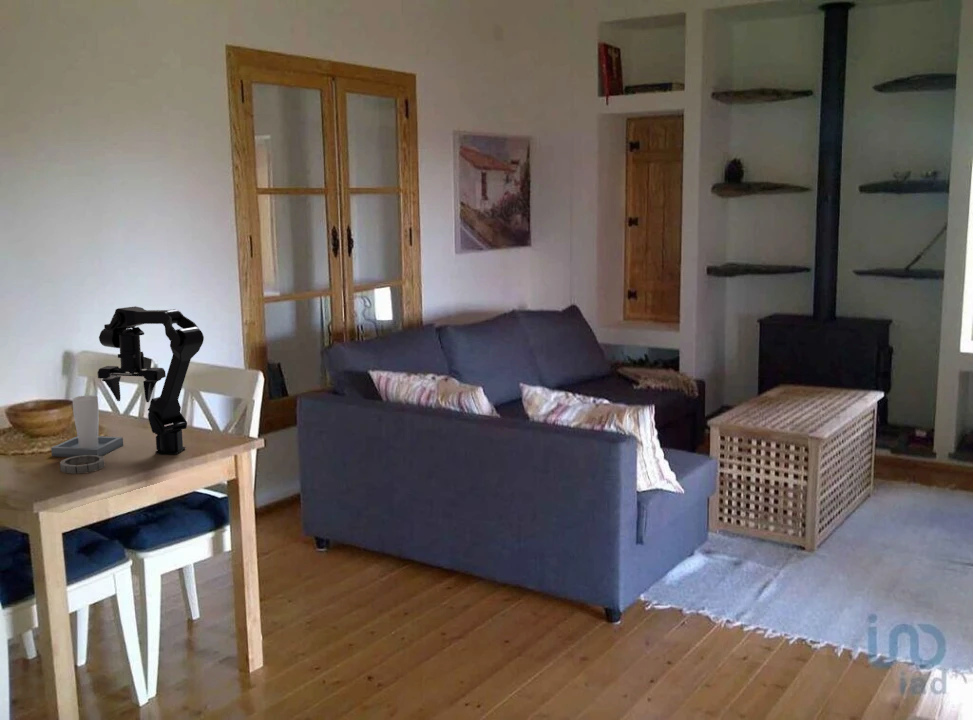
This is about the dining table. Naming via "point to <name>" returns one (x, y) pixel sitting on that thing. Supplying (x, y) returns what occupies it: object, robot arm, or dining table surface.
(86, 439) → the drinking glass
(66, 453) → the tray
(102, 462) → the holder ring
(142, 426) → the dining table surface
